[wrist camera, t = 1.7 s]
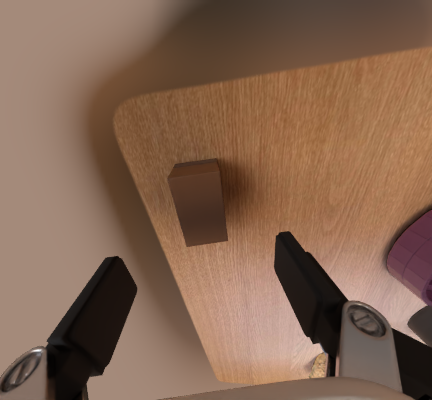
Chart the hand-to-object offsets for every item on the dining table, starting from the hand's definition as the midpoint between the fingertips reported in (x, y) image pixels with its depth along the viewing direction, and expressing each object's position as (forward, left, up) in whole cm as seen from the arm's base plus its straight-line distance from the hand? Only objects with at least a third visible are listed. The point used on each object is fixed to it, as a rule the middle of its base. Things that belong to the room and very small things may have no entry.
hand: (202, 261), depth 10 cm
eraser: (0, 0, -9) cm, 9 cm away
